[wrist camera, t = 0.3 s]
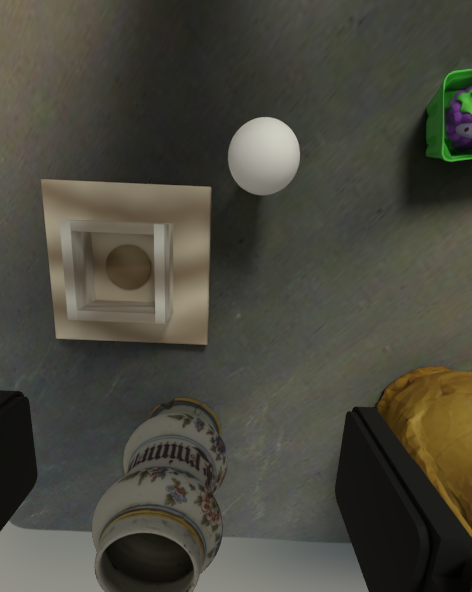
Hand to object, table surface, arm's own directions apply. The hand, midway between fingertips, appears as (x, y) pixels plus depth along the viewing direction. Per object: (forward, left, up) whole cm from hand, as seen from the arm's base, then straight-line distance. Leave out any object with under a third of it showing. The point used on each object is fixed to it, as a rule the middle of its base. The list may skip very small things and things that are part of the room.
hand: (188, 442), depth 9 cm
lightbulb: (-12, +3, -30) cm, 32 cm away
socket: (-1, -11, -29) cm, 31 cm away
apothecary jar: (+21, -5, -30) cm, 37 cm away
